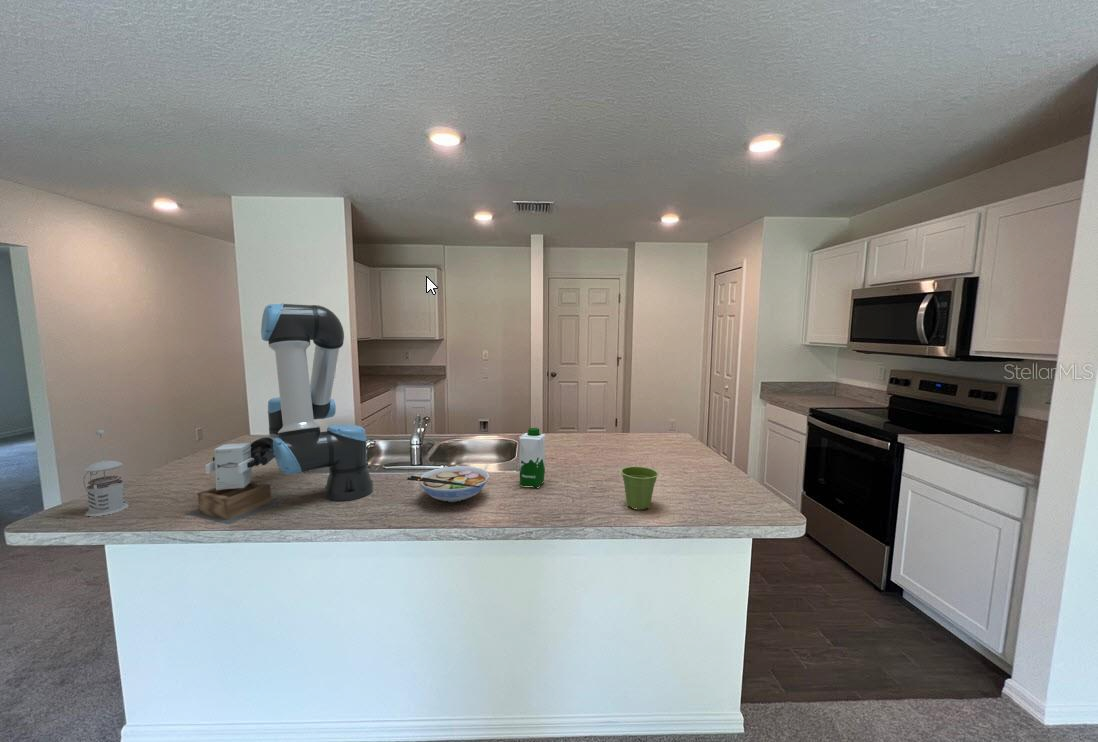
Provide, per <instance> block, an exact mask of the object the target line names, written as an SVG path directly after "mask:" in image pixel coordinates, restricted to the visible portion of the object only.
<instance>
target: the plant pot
mask: <svg viewBox="0 0 1098 742" xmlns="http://www.w3.org/2000/svg"><path fill="white" fill-rule="evenodd" d="M620 473H621V474H622V480H623V485H624V492H625V499H626V500H625V501H626V505H628V506H630V507H629V508H631V507H633V508H637V509H645V508H648V507H649V508H650V507H651V502H652V498H653V494H654V493H653V492H654V489H655V483H656V481H657V478H658V476H659V472H658V471H657V470H655V469H653V468H648V467H644V466H637V465H636V466H632V465H631V466H624V467H623V468H621V469H620ZM628 506H627V507H628ZM649 508H648V509H649ZM645 510H646V509H645Z"/></svg>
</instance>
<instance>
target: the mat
mask: <svg viewBox="0 0 1098 742" xmlns="http://www.w3.org/2000/svg"><path fill="white" fill-rule="evenodd" d="M283 503H284V501H281V500H276V499H272V498H271V503H270V504H267V505H264V506H262V507H259V508H257V509H254V510H252V511H249V512H247V513H244V514H242V515H239V516H236V517H234V518H231V519H229V520H228V519H224V518H220V517H215V516H211V515H207V514H203V513H199V508H198V509H195V510H192V511H188V512H186V513H185V515H189V516H192V517H196V518H197V517H198V518H201V519H205V520H209V521H213V522H218V523H222V524H226V525H231V524H233V523H235V522H237V521H240V520H242V519H243V520H244V519H245V518H248V517H250V516H253V515H255V514H258V513H260V512H262V511H265V510H268V509H270V508H273V507H275V506H277V505H280V504H283Z"/></svg>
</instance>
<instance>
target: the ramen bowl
mask: <svg viewBox="0 0 1098 742" xmlns="http://www.w3.org/2000/svg"><path fill="white" fill-rule="evenodd" d="M489 478H490V474H489V473H488V471H487V470H485V469H483V468H481V467H480V468H479V467H475V466H470V465H469V466H467V465H465V466H464V465H455V466H444V467H440V468H435V469H431V470H429V471H426V472H424V473H423V474H421V476H416V475H410V477H409V476H408V477H407V478H406V479H407V481H414V482H415V481H416V482H418V483H419V485H420V486H421V488H422V489H423V490H424V492H425V493H426V494H427V495H429V497H431V498H434V499H435V500H439V501H443V502H446V501H448V502H447V503H457V502H456V501H459V502H462V501H461V500H463V501H464V500H467V499H471V498H472V497H474V496H476V495H477V494H479V493H480V492H481V490H482V489H483V487H484V486H485V485H486V484H487V481H488V480H489Z"/></svg>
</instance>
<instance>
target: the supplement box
mask: <svg viewBox="0 0 1098 742" xmlns="http://www.w3.org/2000/svg"><path fill="white" fill-rule="evenodd" d="M251 444H252V442H242V443H241V442H239V443H223V444H222V445H220V446H218V447H216V448H214V451H213V452H214V457H215V471H214V472H215V488H216V490H222V489H235V488H244V487H245V486H247V485H248V484H249V483H250V482H251V481H253V477H252V476H253V475H252V474H253V473H252V471H253V470H252V468H253V467H251V468H250V469H248V470H246V471H244V472H242V473H238V466H237V465H238V464H240V463H242V462H244V461H246V460H248V459H249V458H251Z"/></svg>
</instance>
